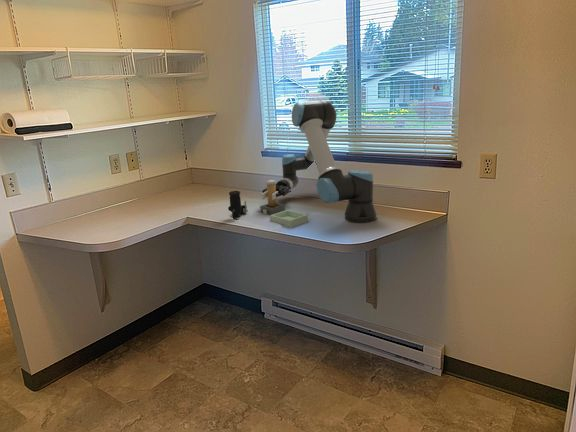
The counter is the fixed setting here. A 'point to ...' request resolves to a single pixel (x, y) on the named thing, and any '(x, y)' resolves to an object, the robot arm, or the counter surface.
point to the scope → (236, 205)
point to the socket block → (271, 209)
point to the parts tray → (289, 218)
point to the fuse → (270, 190)
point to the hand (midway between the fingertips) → (267, 196)
